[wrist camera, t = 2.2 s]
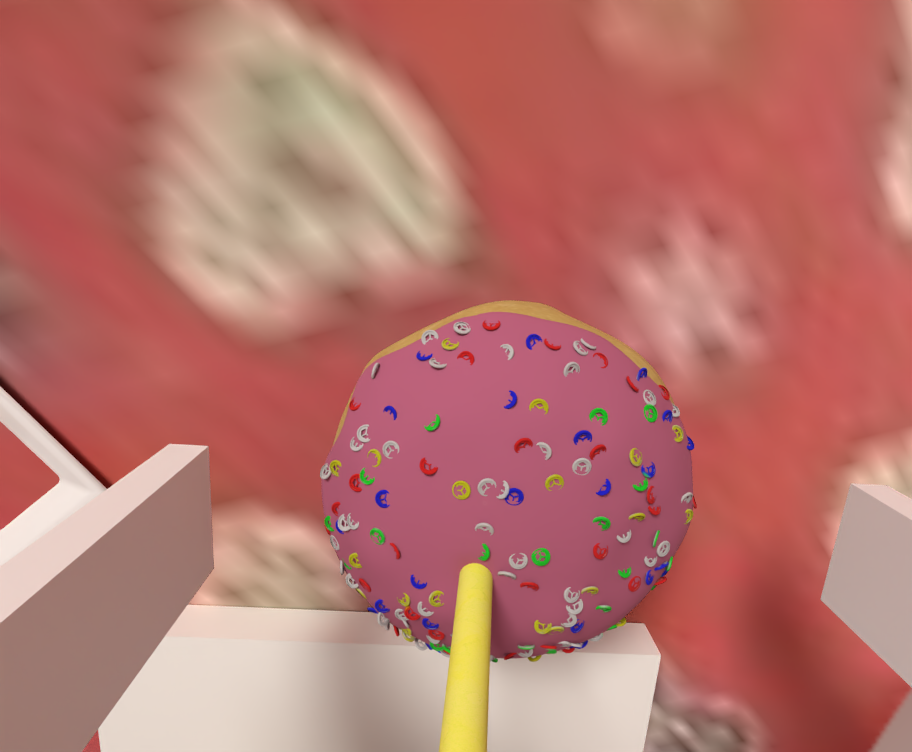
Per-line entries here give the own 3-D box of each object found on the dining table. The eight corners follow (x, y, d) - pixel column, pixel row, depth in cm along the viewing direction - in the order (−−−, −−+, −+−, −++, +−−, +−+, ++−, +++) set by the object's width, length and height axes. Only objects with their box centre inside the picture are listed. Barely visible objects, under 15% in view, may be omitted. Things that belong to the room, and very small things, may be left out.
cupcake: (485, 591, 18) (559, 1190, 7) (294, 425, 17) (-32, 838, 5) (680, 421, 17) (1182, 805, 6) (494, 223, 16) (649, 174, 4)
